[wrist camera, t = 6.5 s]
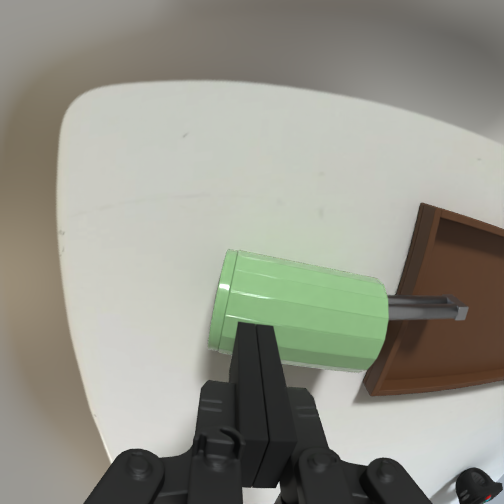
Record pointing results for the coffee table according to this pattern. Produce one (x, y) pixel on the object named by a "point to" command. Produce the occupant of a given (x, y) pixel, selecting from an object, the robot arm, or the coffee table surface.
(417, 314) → the bolted metal rod
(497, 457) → the coffee table surface
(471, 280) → the tray
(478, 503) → the controller
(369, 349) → the green cup
